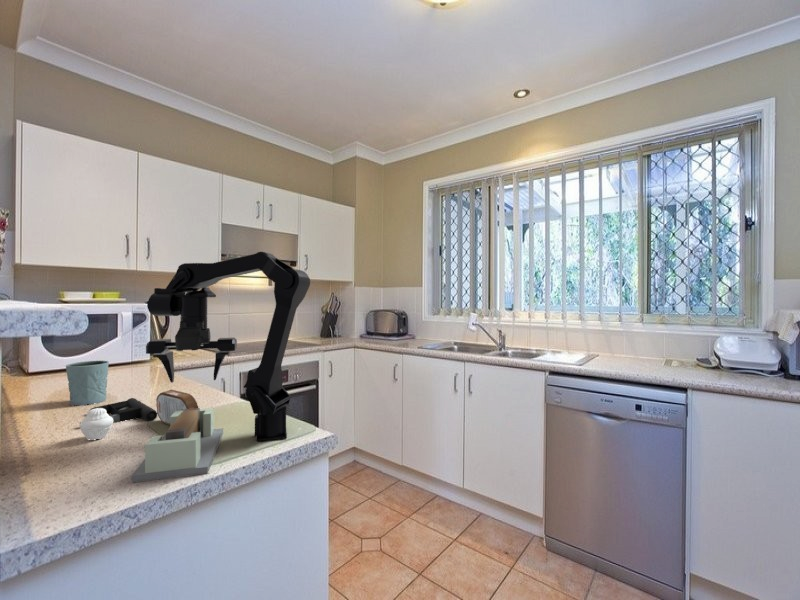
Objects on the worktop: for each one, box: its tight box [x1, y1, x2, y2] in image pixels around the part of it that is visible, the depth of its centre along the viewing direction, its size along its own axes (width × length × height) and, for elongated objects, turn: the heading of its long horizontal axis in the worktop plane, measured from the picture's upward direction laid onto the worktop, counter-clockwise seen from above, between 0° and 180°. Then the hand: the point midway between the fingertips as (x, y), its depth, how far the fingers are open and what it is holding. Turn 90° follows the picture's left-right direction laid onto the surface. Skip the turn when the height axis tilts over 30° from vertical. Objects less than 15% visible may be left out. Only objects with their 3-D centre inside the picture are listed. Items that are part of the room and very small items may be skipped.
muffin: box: [78, 408, 114, 441], centre depth 88 cm, size 6×6×7 cm
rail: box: [165, 407, 201, 440], centre depth 79 cm, size 3×16×6 cm, turn 18°
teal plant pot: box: [65, 360, 110, 406], centre depth 118 cm, size 10×10×12 cm
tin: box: [156, 389, 199, 426], centre depth 97 cm, size 15×3×8 cm, turn 59°
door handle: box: [79, 397, 158, 424], centre depth 103 cm, size 3×20×16 cm
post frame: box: [130, 407, 224, 483], centre depth 79 cm, size 12×22×6 cm, turn 18°
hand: (193, 381), depth 93 cm, fingers open, 9 cm apart
